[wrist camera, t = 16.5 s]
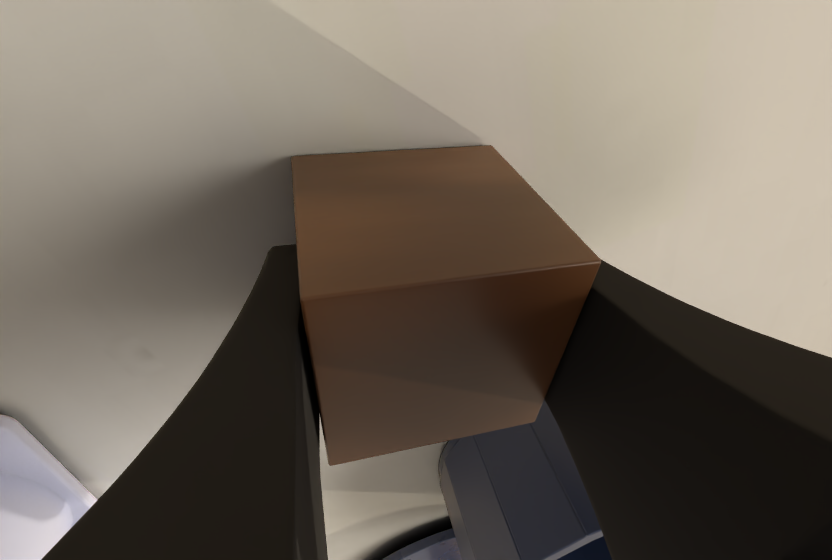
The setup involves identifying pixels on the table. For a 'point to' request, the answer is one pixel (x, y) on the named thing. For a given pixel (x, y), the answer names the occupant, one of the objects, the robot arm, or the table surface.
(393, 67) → the table surface
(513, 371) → the block
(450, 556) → the lid
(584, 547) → the tin
